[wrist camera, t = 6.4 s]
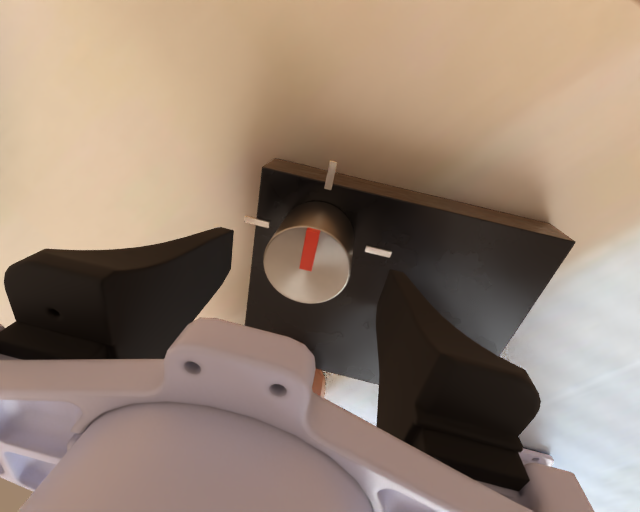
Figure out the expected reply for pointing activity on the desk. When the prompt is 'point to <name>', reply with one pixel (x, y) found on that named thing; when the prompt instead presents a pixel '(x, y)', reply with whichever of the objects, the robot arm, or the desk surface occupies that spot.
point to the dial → (311, 253)
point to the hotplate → (401, 264)
